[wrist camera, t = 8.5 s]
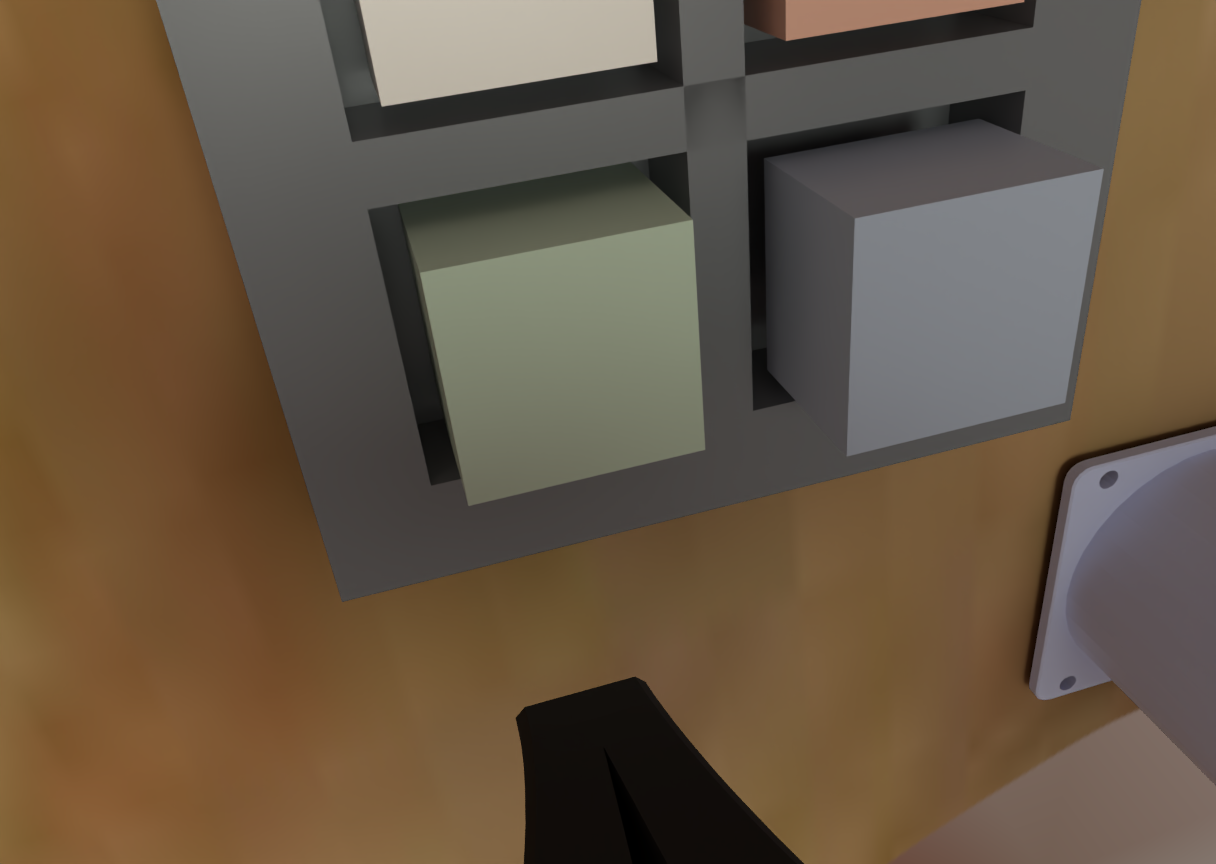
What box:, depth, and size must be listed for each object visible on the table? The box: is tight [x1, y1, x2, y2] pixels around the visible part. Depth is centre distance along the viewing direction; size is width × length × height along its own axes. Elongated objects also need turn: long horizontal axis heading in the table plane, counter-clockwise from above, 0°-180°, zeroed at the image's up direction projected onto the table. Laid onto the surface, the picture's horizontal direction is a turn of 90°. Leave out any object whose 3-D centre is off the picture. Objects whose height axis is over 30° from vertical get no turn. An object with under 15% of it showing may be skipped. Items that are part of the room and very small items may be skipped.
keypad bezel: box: [156, 0, 1141, 602], centre depth 17 cm, size 15×15×3 cm
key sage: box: [398, 162, 705, 506], centre depth 17 cm, size 4×4×3 cm
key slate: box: [764, 119, 1104, 456], centre depth 17 cm, size 4×4×3 cm
